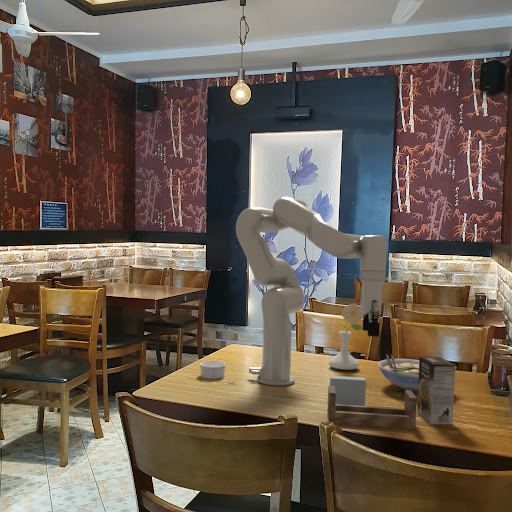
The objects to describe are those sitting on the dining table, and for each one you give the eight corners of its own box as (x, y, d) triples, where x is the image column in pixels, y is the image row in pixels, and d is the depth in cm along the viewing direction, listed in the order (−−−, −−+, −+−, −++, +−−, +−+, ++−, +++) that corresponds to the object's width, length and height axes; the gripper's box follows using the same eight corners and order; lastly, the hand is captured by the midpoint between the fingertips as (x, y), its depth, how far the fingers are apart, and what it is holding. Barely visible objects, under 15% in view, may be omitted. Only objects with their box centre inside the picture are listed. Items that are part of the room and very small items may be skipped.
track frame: (328, 423, 131) (329, 392, 130) (327, 414, 138) (328, 385, 137) (415, 429, 128) (416, 398, 128) (409, 419, 135) (411, 390, 135)
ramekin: (224, 380, 169) (224, 367, 169) (197, 379, 169) (198, 366, 169) (226, 373, 178) (226, 361, 178) (201, 372, 178) (201, 360, 178)
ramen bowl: (456, 403, 151) (457, 376, 151) (378, 396, 156) (379, 370, 156) (442, 381, 176) (443, 358, 176) (375, 376, 180) (376, 353, 180)
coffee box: (416, 412, 141) (418, 355, 141) (438, 413, 142) (440, 356, 142) (430, 424, 132) (432, 363, 132) (453, 424, 133) (456, 363, 132)
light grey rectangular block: (329, 405, 145) (330, 378, 145) (329, 402, 148) (330, 375, 148) (364, 408, 144) (365, 380, 144) (363, 404, 147) (364, 377, 147)
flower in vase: (323, 369, 188) (326, 302, 188) (335, 363, 198) (337, 300, 198) (356, 374, 182) (359, 305, 181) (367, 368, 191) (370, 303, 191)
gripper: (355, 274, 160) (354, 328, 160) (364, 277, 142) (362, 338, 143) (379, 275, 159) (377, 329, 160) (391, 278, 142) (389, 339, 142)
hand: (370, 333), depth 151 cm, fingers open, 9 cm apart
